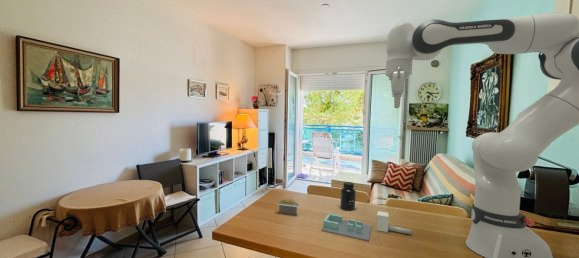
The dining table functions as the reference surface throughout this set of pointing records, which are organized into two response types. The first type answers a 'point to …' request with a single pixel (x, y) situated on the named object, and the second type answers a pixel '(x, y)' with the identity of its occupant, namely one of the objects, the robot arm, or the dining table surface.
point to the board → (346, 227)
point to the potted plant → (288, 206)
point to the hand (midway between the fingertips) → (396, 107)
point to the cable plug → (383, 225)
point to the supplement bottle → (348, 196)
